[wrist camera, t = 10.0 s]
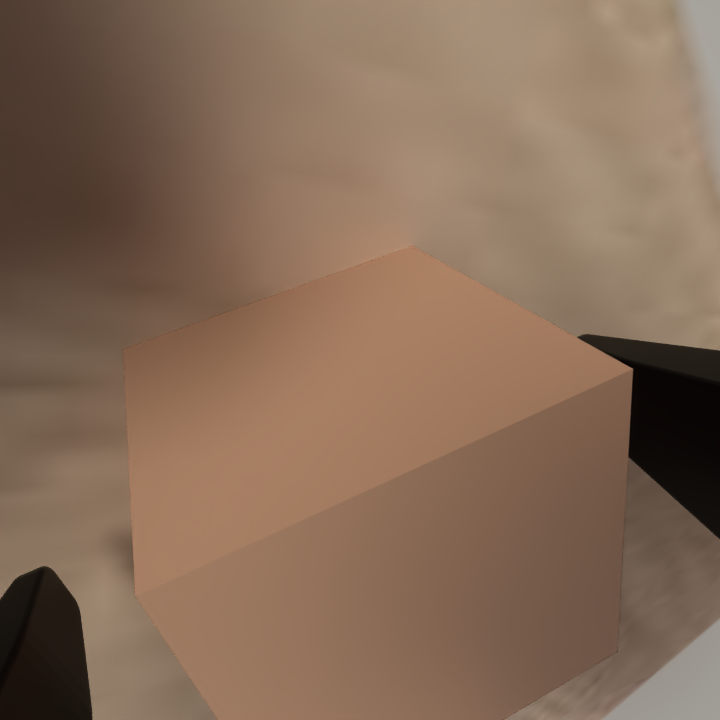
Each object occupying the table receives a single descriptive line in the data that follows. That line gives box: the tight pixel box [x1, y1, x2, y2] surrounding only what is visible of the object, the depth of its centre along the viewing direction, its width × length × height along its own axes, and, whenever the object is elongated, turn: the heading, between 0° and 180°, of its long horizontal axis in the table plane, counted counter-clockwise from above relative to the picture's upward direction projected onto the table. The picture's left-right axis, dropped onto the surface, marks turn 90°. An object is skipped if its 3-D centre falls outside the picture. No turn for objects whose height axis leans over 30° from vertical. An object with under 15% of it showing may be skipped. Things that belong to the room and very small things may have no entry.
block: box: [123, 246, 633, 720], centre depth 8 cm, size 5×5×5 cm
